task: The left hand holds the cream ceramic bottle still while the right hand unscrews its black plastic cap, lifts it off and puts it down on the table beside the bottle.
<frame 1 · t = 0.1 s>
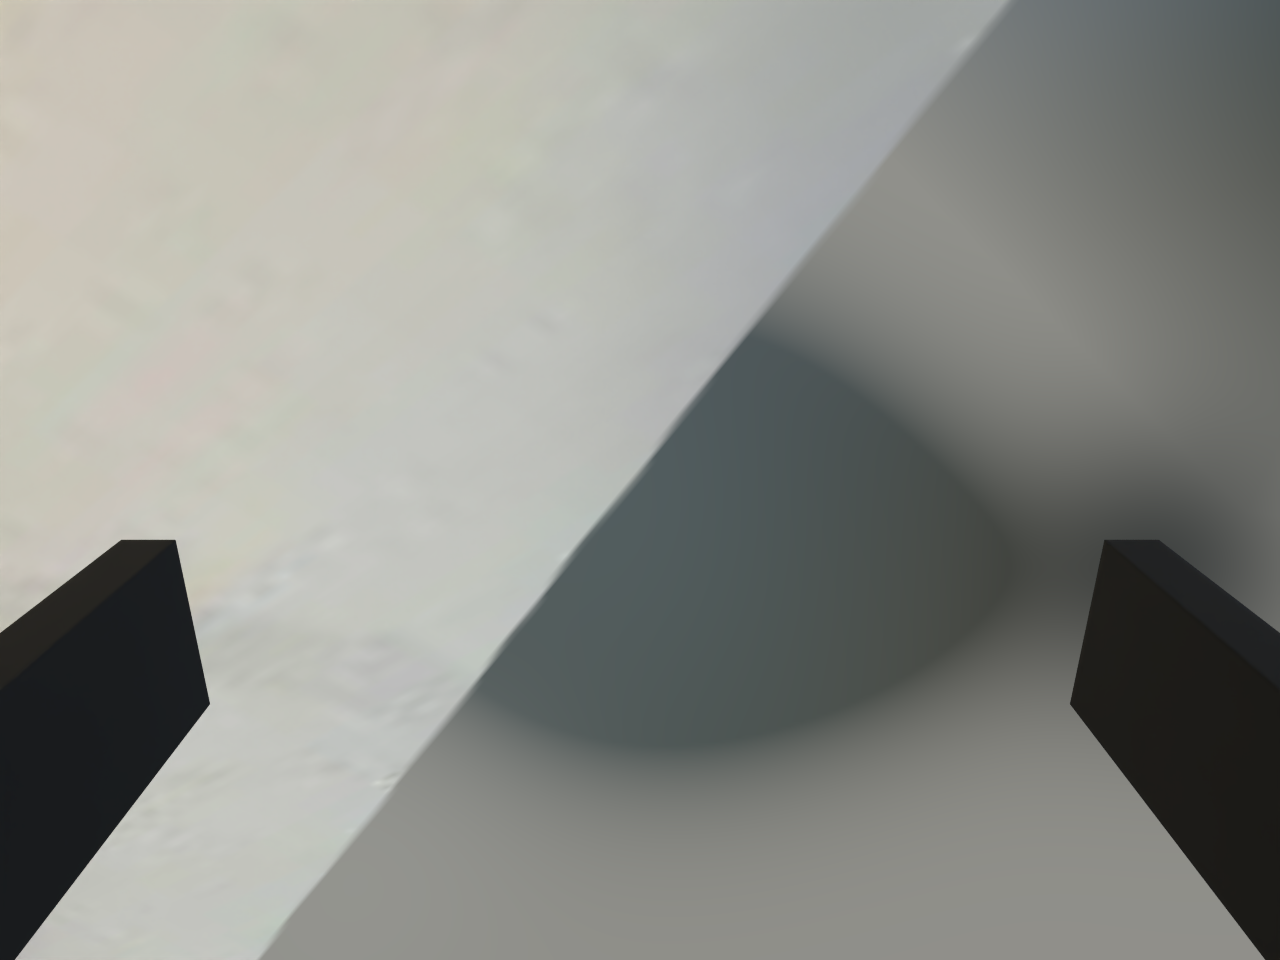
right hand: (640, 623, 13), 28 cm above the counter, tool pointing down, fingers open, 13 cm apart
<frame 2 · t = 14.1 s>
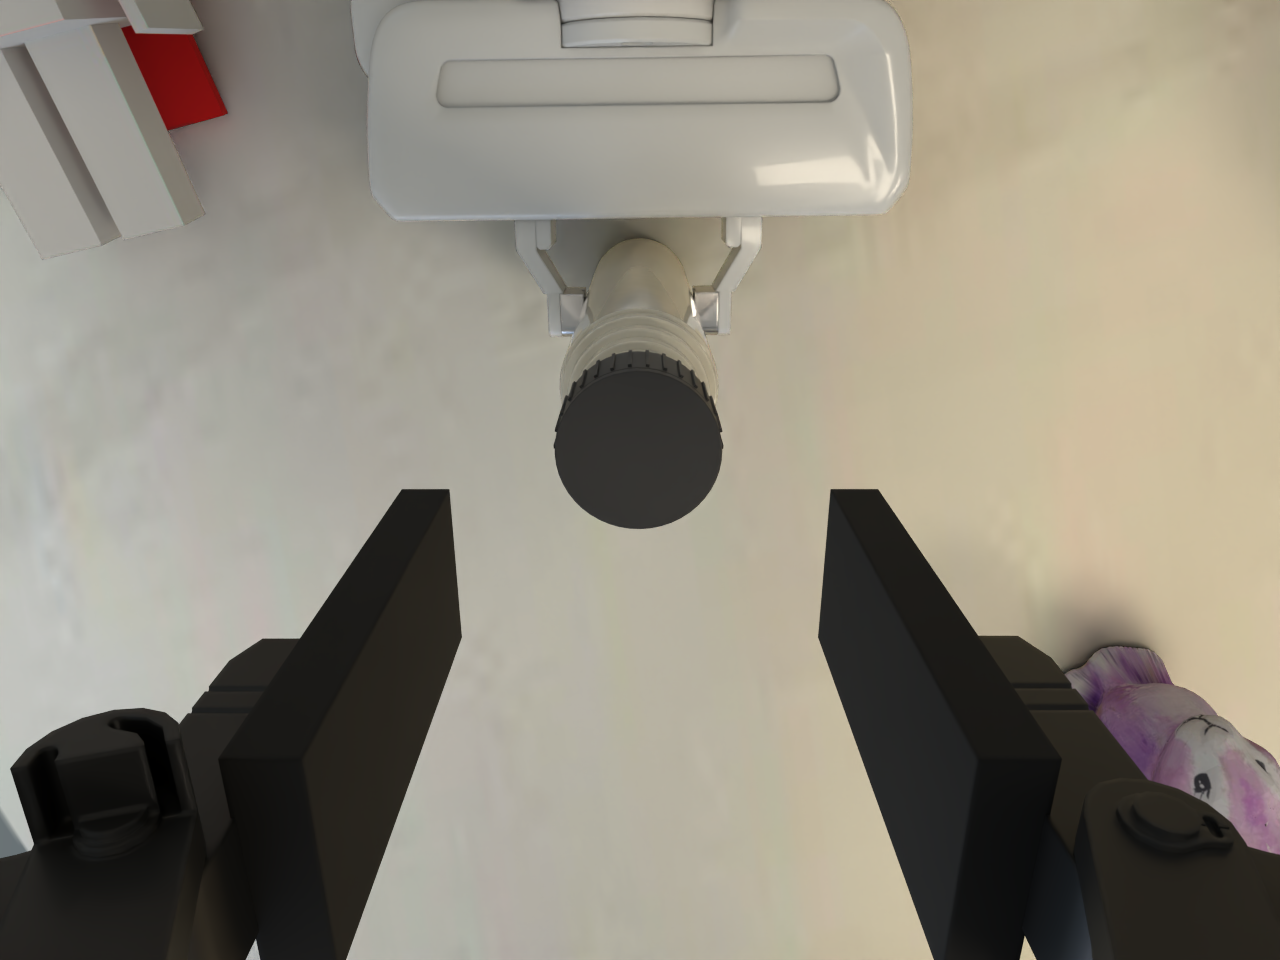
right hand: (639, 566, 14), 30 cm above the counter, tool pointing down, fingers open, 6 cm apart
left hand: (640, 333, 36), fingers closed on bottle, 4 cm apart
cap: (638, 448, 20), point 24 cm above the counter, screwed on, not yet turned
figurine: (1095, 708, 51), on the counter
bottle: (639, 286, 42), on the counter, touching left hand
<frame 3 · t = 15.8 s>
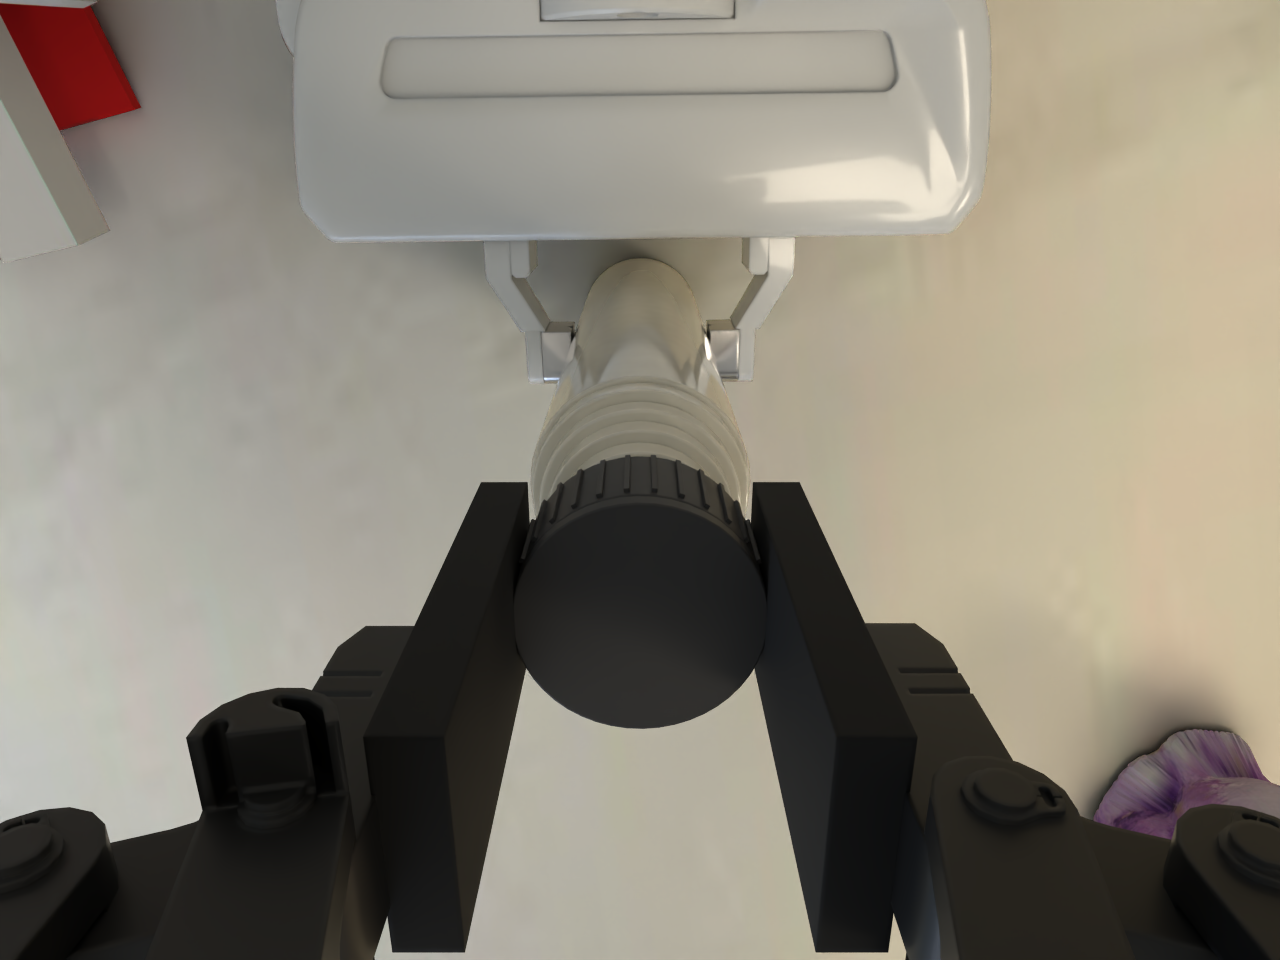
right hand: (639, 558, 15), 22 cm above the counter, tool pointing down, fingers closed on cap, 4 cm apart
left hand: (642, 379, 29), fingers closed on bottle, 4 cm apart
cap: (640, 612, 13), point 24 cm above the counter, screwed on, not yet turned, touching right hand
figurine: (1168, 797, 44), on the counter
bottle: (640, 314, 35), on the counter, touching left hand
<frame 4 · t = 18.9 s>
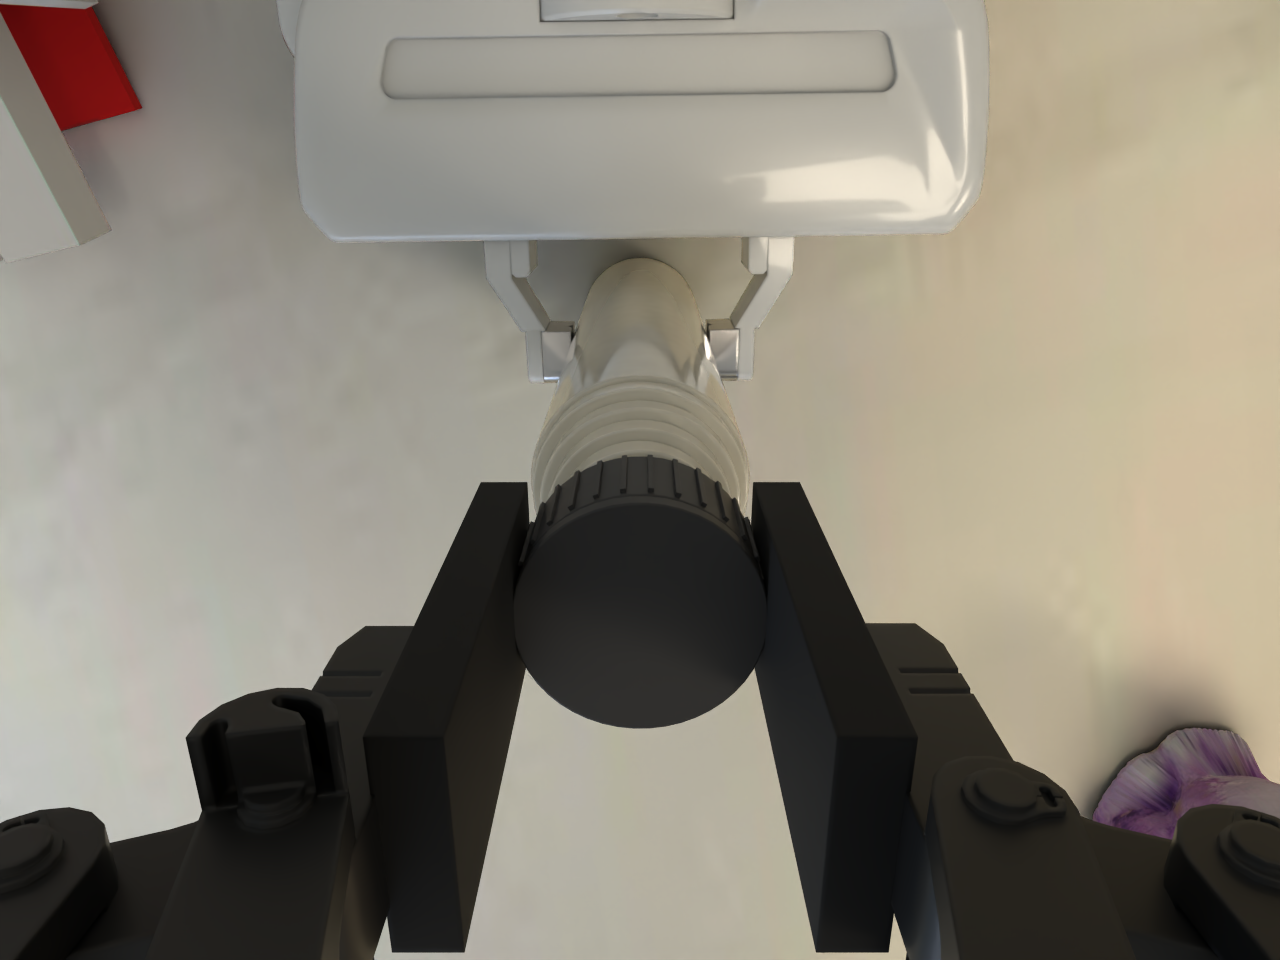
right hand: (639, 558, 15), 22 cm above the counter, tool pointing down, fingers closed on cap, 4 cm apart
left hand: (642, 378, 29), fingers closed on bottle, 4 cm apart
cap: (640, 612, 13), point 24 cm above the counter, turned 85° so far, risen 0.1 cm, still on its thread, touching right hand
figurine: (1167, 795, 44), on the counter
bottle: (640, 314, 35), on the counter, touching left hand
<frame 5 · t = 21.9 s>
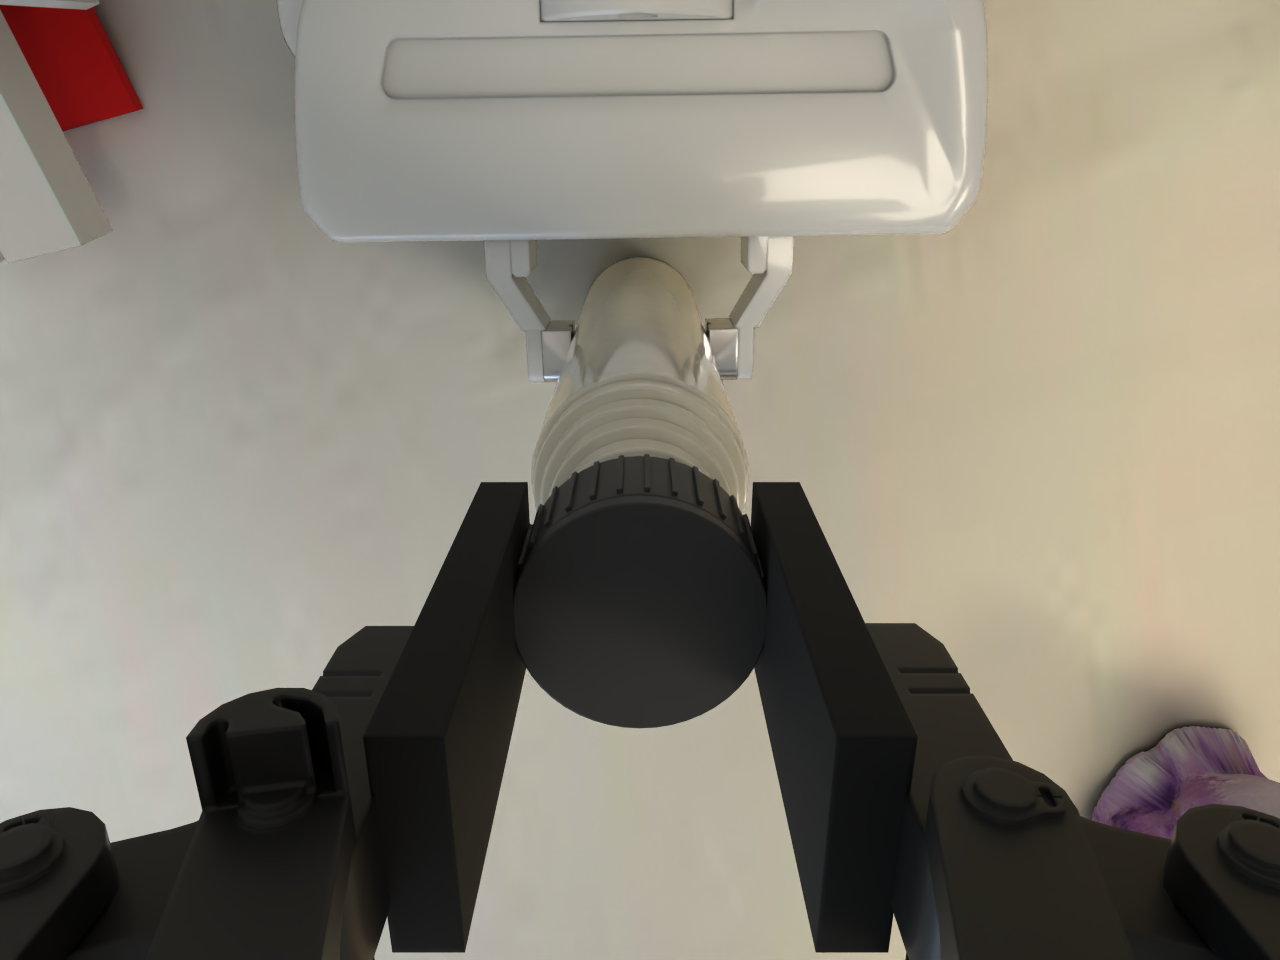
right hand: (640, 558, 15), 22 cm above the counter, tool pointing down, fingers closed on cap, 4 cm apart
left hand: (641, 377, 29), fingers closed on bottle, 4 cm apart
cap: (640, 611, 13), point 24 cm above the counter, turned 171° so far, risen 0.2 cm, still on its thread, touching right hand
figurine: (1166, 794, 44), on the counter
bottle: (640, 313, 35), on the counter, touching left hand
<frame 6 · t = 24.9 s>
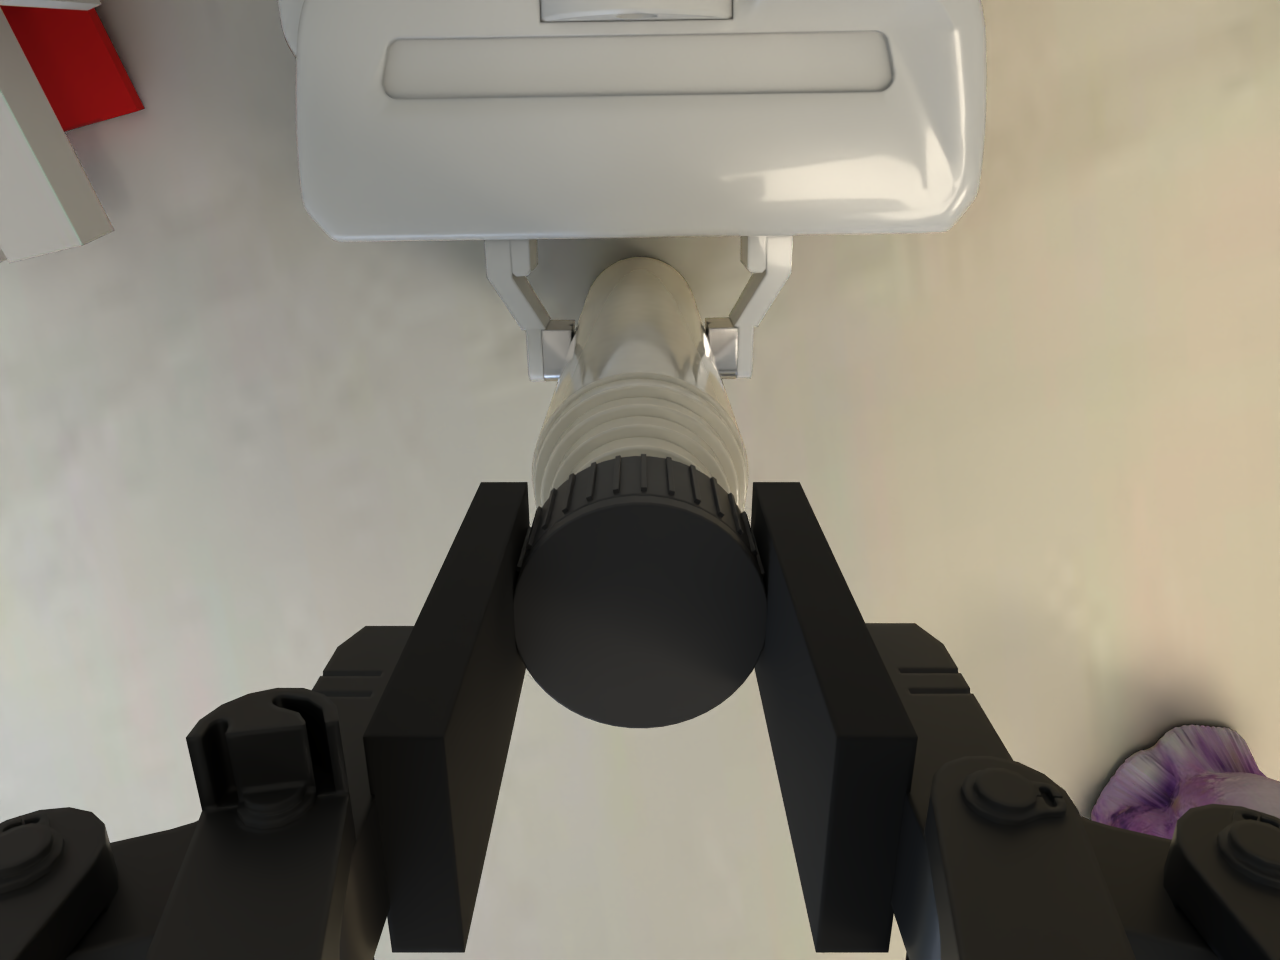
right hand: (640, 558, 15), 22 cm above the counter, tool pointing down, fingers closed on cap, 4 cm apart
left hand: (641, 376, 30), fingers closed on bottle, 4 cm apart
cap: (640, 611, 13), point 24 cm above the counter, turned 256° so far, risen 0.3 cm, still on its thread, touching right hand
figurine: (1165, 792, 44), on the counter
bottle: (640, 313, 35), on the counter, touching left hand
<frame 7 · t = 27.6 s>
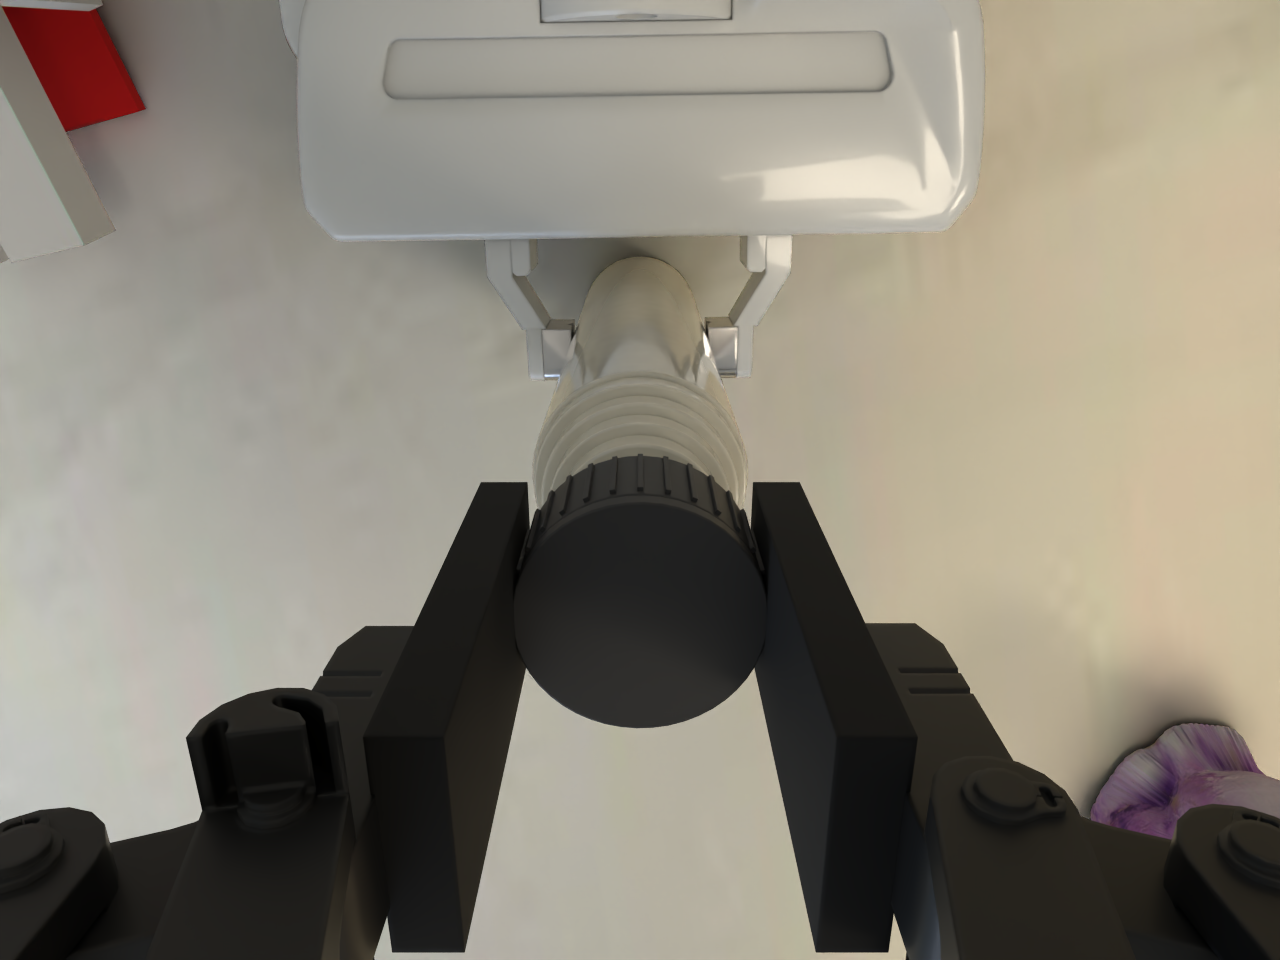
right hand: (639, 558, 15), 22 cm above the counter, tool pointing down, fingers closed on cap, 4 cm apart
left hand: (641, 375, 30), fingers closed on bottle, 4 cm apart
cap: (640, 611, 13), point 24 cm above the counter, turned 342° so far, risen 0.4 cm, still on its thread, touching right hand
figurine: (1164, 791, 44), on the counter
bottle: (640, 312, 36), on the counter, touching left hand
when the right hand's fingers open (1 cm above the counter, at t = 38.4 s): cap stays where it is, point 2 cm above the counter.
when the left hand's fingers open (7 cm above the counter, at t = 39.6 s): bottle stays where it is, on the counter.
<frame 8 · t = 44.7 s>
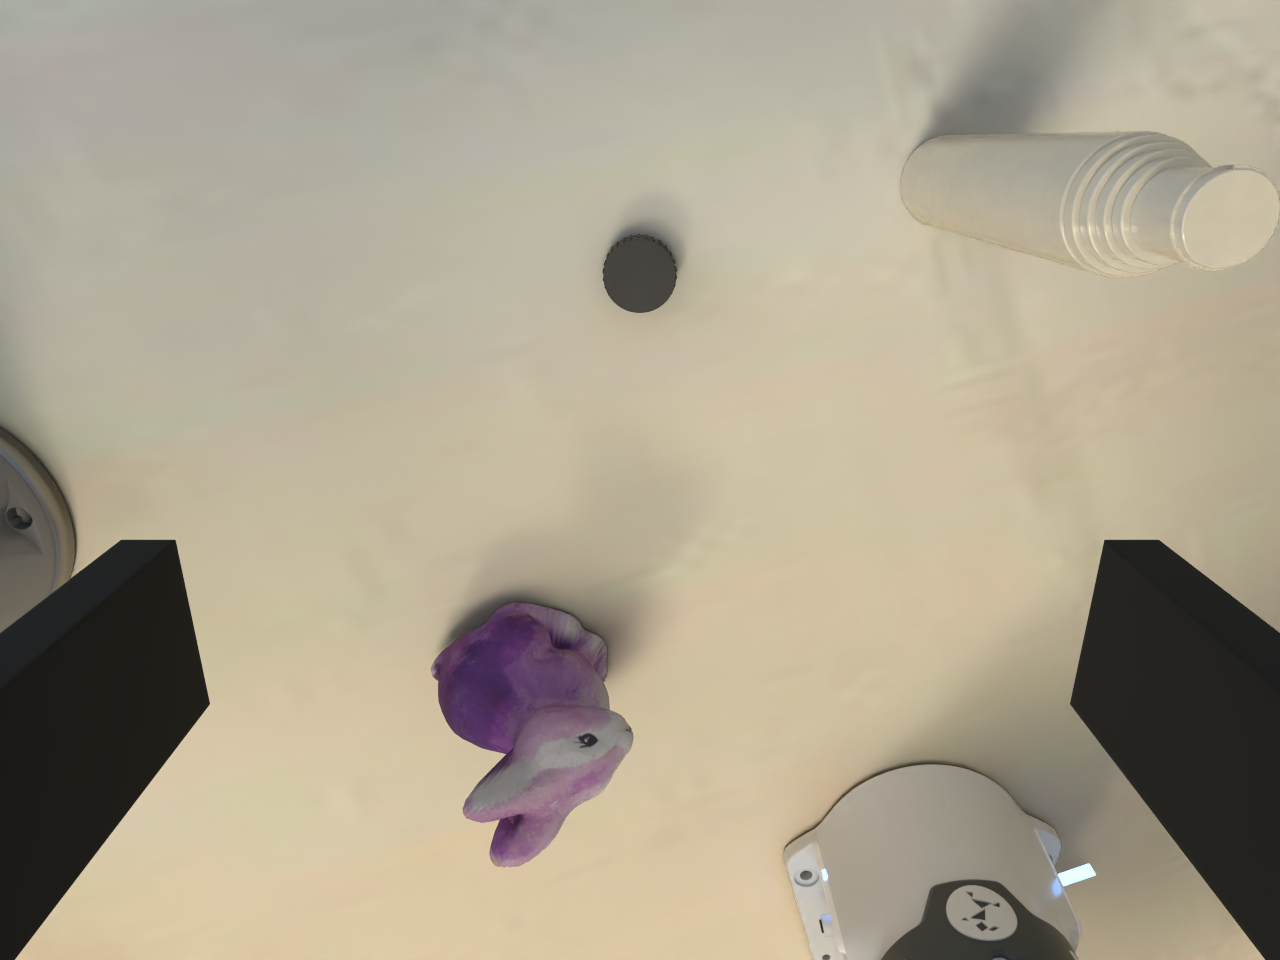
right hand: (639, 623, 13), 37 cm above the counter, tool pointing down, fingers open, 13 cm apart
cap: (639, 275, 45), point 2 cm above the counter, off its thread
figurine: (538, 650, 55), on the counter
bottle: (943, 181, 45), on the counter
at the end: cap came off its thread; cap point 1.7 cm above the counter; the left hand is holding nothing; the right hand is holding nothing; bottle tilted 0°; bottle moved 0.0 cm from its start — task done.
